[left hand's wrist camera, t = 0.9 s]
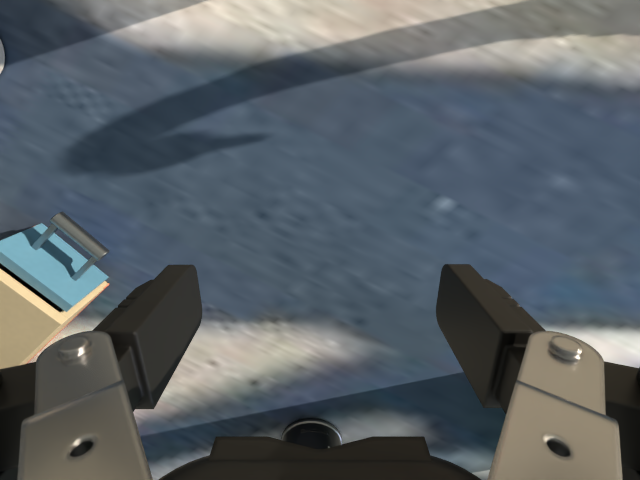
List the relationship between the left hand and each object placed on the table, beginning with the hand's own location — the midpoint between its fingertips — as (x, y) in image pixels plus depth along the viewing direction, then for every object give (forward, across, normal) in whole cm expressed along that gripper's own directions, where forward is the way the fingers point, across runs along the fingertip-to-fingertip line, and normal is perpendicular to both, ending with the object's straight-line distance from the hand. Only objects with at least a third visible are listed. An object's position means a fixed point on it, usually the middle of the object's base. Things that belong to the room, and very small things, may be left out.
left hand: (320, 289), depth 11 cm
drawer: (+27, -34, -15) cm, 46 cm away
